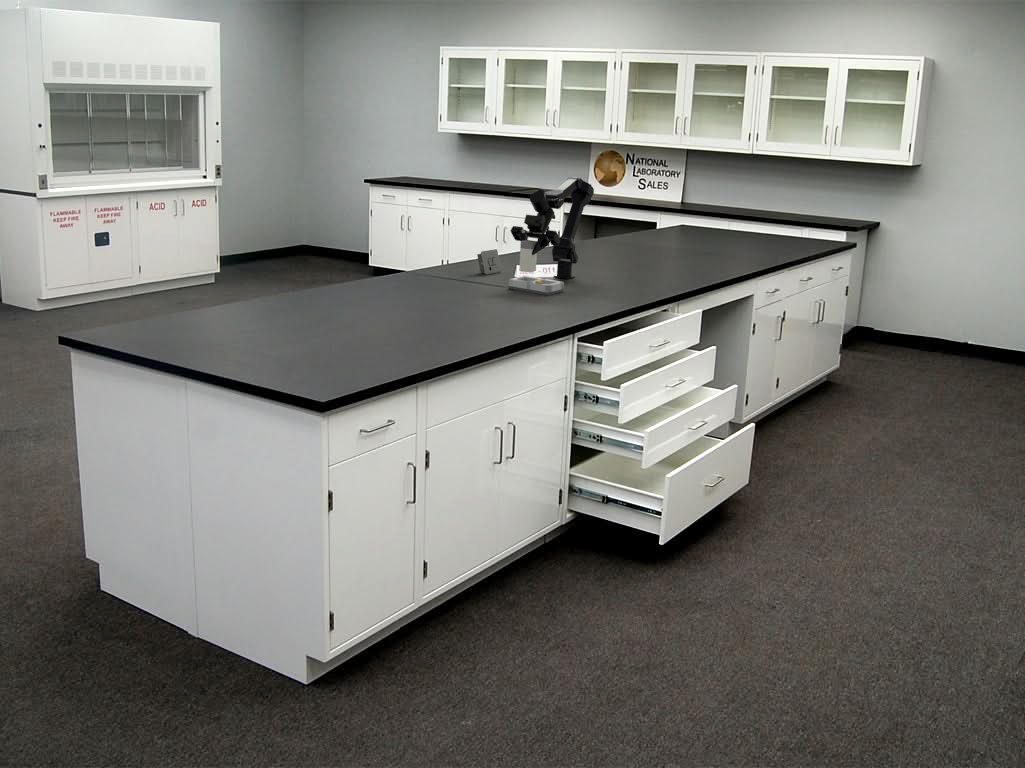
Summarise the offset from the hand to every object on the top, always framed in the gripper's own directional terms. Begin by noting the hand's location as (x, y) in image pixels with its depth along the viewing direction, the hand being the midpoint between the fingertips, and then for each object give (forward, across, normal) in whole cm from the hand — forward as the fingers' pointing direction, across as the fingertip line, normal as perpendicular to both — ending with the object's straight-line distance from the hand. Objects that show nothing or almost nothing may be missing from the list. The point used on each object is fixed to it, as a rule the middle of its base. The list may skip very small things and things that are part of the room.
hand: (526, 253), depth 372 cm
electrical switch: (-4, -28, +23) cm, 36 cm away
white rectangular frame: (+9, +4, +10) cm, 14 cm away
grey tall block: (+4, 0, +6) cm, 7 cm away
